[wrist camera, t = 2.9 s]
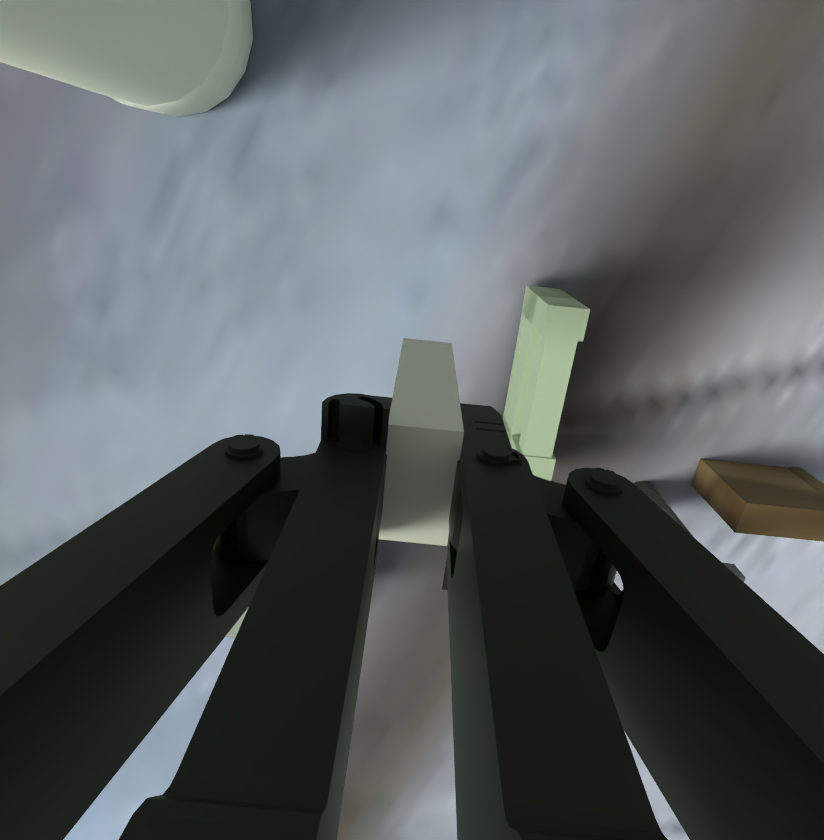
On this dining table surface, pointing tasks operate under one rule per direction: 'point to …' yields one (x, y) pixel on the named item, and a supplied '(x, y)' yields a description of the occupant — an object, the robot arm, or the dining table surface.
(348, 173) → the dining table surface
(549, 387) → the gate
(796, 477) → the fence far side
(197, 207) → the dining table surface
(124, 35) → the bottle
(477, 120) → the dining table surface
